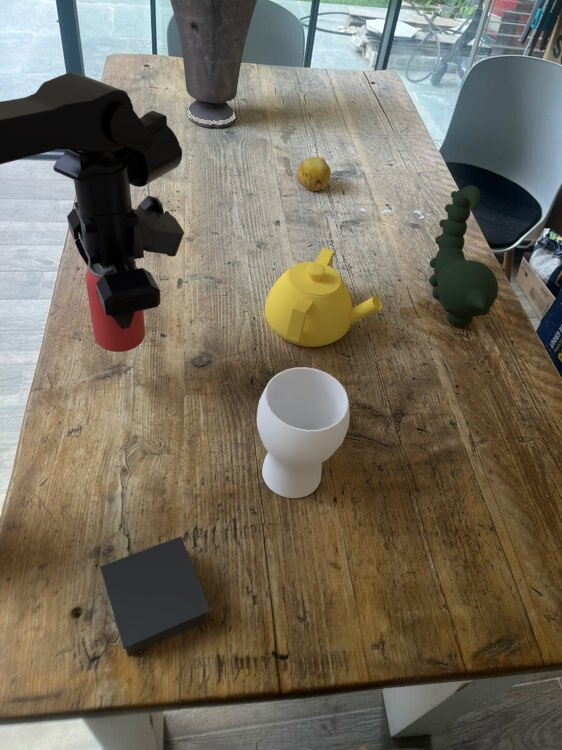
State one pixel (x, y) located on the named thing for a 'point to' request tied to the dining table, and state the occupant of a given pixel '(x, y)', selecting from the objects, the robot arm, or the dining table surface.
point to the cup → (300, 428)
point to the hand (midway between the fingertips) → (118, 310)
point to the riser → (154, 595)
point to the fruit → (314, 173)
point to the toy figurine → (461, 266)
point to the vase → (212, 52)
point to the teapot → (314, 304)
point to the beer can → (105, 325)
